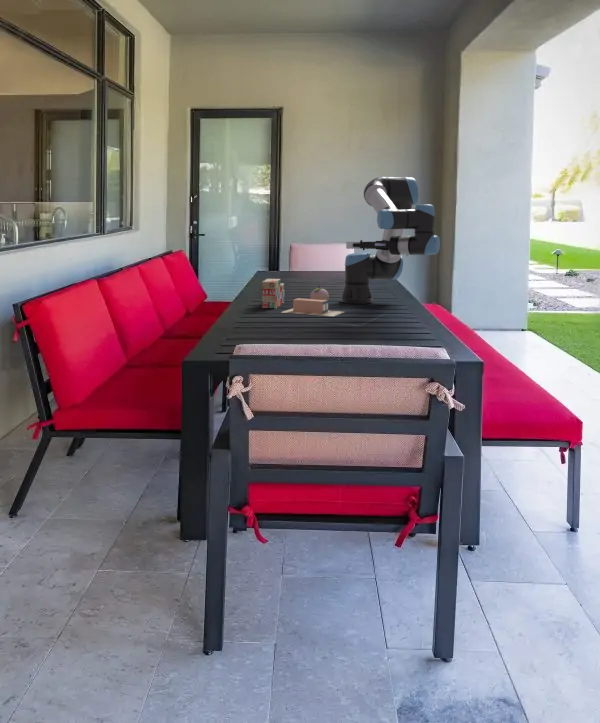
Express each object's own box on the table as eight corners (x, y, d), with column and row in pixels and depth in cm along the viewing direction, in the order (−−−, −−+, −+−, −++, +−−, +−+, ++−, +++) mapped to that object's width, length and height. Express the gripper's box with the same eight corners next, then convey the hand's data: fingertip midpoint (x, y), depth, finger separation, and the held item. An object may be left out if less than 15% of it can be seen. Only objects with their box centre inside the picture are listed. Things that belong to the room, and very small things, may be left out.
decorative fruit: (326, 309, 339) (327, 287, 337) (308, 309, 340) (308, 286, 338) (330, 306, 348) (330, 284, 346) (312, 306, 349) (312, 284, 347)
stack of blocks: (271, 302, 362) (271, 276, 359) (284, 302, 360) (284, 276, 358) (261, 308, 341) (261, 281, 338) (275, 309, 340) (275, 281, 337)
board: (345, 314, 327) (345, 311, 327) (333, 318, 315) (333, 316, 314) (294, 310, 336) (294, 308, 336) (280, 314, 324) (280, 312, 324)
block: (328, 300, 325) (298, 298, 330) (323, 301, 320) (293, 299, 326) (327, 311, 326) (297, 309, 331) (323, 313, 322) (293, 311, 327)
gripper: (394, 254, 299) (339, 253, 310) (406, 255, 311) (353, 255, 322) (395, 234, 299) (340, 235, 310) (406, 236, 310) (353, 237, 321)
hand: (347, 245), depth 316 cm, fingers closed
